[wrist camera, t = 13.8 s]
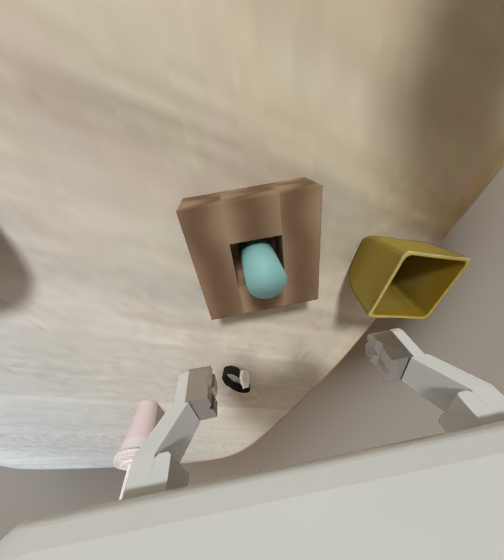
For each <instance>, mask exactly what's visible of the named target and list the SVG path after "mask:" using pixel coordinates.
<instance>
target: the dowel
mask: <svg viewBox="0 0 504 560" xmlns="http://www.w3.org/2000/svg"><path fill="white" fill-rule="evenodd" d="M239 253H240V257H241V262H242V267H243V272H244V276H245V281H246V286H247V289H248V291H249V293H250V294H251V295H253V296H254V297H257V298H261V299H268V298H272V297H274V296H276V295H278V294H279V293H281V292H282V291H283V289H284V288H285V286H286V283H287V275H286V273H285V271H284V269H283V267H282V265H281V263H280V261H279V259H278V257H277V255H276V253H275V251H274V250H273V248H272V246H271V244H270V242H269V240H268V238H262V239H257V240H251V241H246V242H240V244H239Z"/></svg>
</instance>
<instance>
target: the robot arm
mask: <svg viewBox="0 0 504 560" xmlns="http://www.w3.org/2000/svg"><path fill="white" fill-rule="evenodd" d="M367 339H368V341H369V342H368V343H367V344H366V346H365V351H366V355H367V357H368V359H369V360H370V362H371V363H372V364H374V365H376V371H377V373H378V374H379V376H380V377H381V379H382V381H383V382H384V383H385V382H391V381H397V380H401V381H402V382H404V383H405V384H406V385H408V386H409V387H411V388H412V389H414V390H415V391H416V392H418V393H419V394H421V395H422V396H423V397H425V398H427V399H428V400H429V401H430V402H432V403H433V404H435V405H436V406H437V407H439V408H440V409H442V410H443V411H444V413H443V414H442V415H441V417H440V418H439V423H440V424H441V426H442V427H443V429H444V430H445V431H446V433H441V434H437V435H432V436H427V437H422V438H417V439H413V440H407V441H403V442H398V443H393V444H388V445H383V446H379V447H374V448H369V449H364V450H359V451H355V452H350V453H345V454H340V455H335V456H331V457H326V458H321V459H316V460H312V461H306V462H302V463H297V464H292V465H287V466H283V467H278V468H273V469H269V470H264V471H258V472H253V473H249V474H244V475H239V476H234V477H229V478H225V479H220V480H215V481H211V482H205V483H201V484H196V485H191V486H188V482H189V473H188V471H187V470H186V469H185V468H184V467H183V466H182V465H181V464H180V461H181V459H182V457H183V455H184V453H185V451H186V449H187V447H188V445H189V443H190V441H191V439H192V437H193V435H194V433H195V431H196V429H197V427H198V425H199V423H200V420H204V419H209V418H213V417H217V401H216V398H215V397H216V395H217V381H216V377H215V375H214V374H212V368H211V366H206V367H201V368H195V369H189V370H184V371H180V373H179V375H178V381H177V387H176V393H175V399H174V405H171V406H170V407H169V408H168V410H167V411H166V412H165V414H164V415H163V417H162V418H161V419H160V421H159V422H158V424H157V425H156V426H155V428H154V429H153V431H152V432H151V433H150V435H149V436H148V438H147V439H146V440H145V442H144V443H143V444H142V446H141V447H140V449H139V450H138V451H137V453H136V454H135V456H134V457H133V460H132V464H131V468H130V471H129V475H128V479H127V482H126V486H125V490H124V494H123V497H122V500H119V501H114V502H109V503H105V504H100V505H95V506H90V507H86V508H81V509H76V510H72V511H67V512H62V513H57V514H52V515H47V516H42V517H36V518H32V519H29V520H26V521H23V522H21V523H20V524H19V525H17V526H16V527H15V528H13V529H12V530H11V531H10V532H9V533H8V534H7V535H6V536H5V537H4V538H3V539H2V540H1V541H0V560H504V396H503V395H502V394H501V393H500V392H499V391H498V390H497V389H495V388H494V387H493V386H492V385H491V384H489V383H487V382H485V381H483V380H481V379H479V378H477V377H475V376H473V375H471V374H469V373H466V372H464V371H462V370H460V369H458V368H456V367H454V366H452V365H450V364H448V363H446V362H444V361H442V360H439V359H438V358H436V357H434V356H431V355H429V354H424V353H423V352H422V351H421V350H420V348H419V347H418V346H417V345H416V344H415V343H414V342H413V341H412V340H411V339H410V338H409V337H408V336H407V335H406V333H405V332H404V331H403V330H402V329H400V328H396V329H391V330H385V331H380V332H376V333H371V334H369V335H368V337H367Z"/></svg>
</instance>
